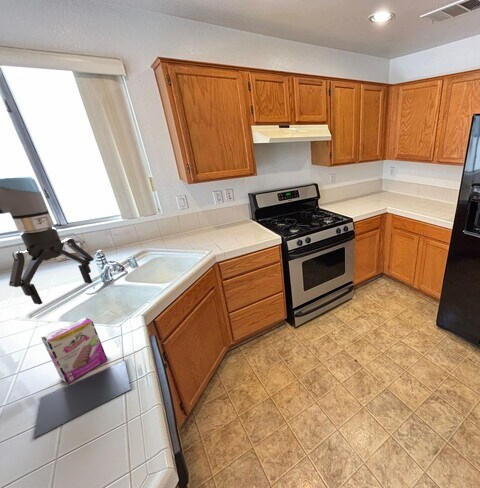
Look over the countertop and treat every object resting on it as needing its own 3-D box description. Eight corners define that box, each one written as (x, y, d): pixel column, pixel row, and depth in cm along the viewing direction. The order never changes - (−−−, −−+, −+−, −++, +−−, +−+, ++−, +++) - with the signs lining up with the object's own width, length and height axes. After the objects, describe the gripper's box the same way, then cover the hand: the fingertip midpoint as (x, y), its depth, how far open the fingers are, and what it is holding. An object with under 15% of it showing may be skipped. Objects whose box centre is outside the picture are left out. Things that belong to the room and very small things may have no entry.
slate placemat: (34, 438, 65) (34, 437, 65) (41, 398, 76) (41, 397, 76) (131, 389, 77) (130, 389, 77) (124, 361, 89) (124, 360, 89)
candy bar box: (68, 385, 80) (46, 341, 75) (60, 380, 83) (39, 337, 77) (109, 360, 90) (92, 319, 84) (101, 355, 92) (84, 316, 87)
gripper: (-18, 244, 66) (20, 315, 73) (92, 219, 88) (112, 276, 95) (-33, 242, 68) (5, 312, 75) (77, 219, 90) (99, 274, 97)
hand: (65, 292), depth 85 cm, fingers open, 13 cm apart
